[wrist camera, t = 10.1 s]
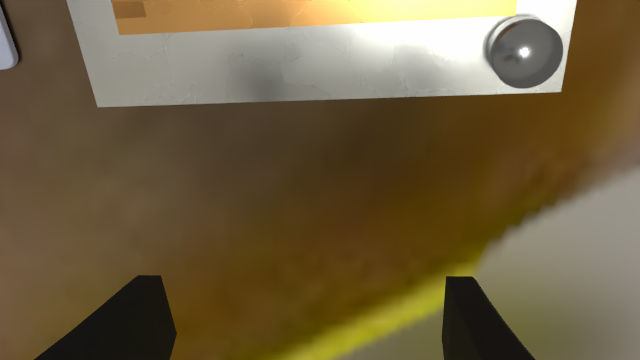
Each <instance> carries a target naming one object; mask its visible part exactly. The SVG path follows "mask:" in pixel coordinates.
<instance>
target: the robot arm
mask: <svg viewBox="0 0 640 360" xmlns="http://www.w3.org/2000/svg"><path fill="white" fill-rule="evenodd" d="M17 62H18V54H17V51H16V48H15V45H14V43H13V40H12V37H11V34H10V31H9V28H8V26H7V23H6V20H5V17H4V14H3V11H2V9H1V6H0V70H1V69H9V68H11V67H13V66H15V65H16V64H17ZM176 335H177V333H176V329H175V326H174V322H173V318H172V315H171V311H170V308H169V304H168V300H167V297H166V293H165V289H164V286H163V282H162V278H161V276H149V275H138V276H137V277H136V278H134V279H133V280H132V281H130V282H129V283H128V284H127V285H126V286H124V287H123V288H122V289H121V290H120V291H118V292H117V293H116V294H115V295H114V296H112V297H111V298H110V299H109V300H108V301H107V302H105V303H104V304H103V305H102V306H101V307H99V308H98V309H97V310H96V311H95V312H93V313H92V314H91V315H90V316H89V317H87V318H86V319H85V320H84V321H83V322H81V323H80V324H79V325H78V326H77V327H75V328H74V329H73V330H72V331H71V332H69V333H68V334H67V335H65V336H64V337H63V338H61V339H60V340H59V341H58V342H56V343H55V344H54V345H52V346H51V347H50V348H49V349H47V350H46V351H45V352H43V353H42V354H41V355H39V356H38V357H37V358H36V359H34V360H169V359H170V356H171V353H172V349H173V346H174V342H175V338H176ZM442 344H443V353H444V360H535V359H534V357H533V356H532V355H531V354H530V353H529V352H528V350H527V349H526V348H525V347H524V346H523V344H522V343H521V342H520V341H519V339H518V338H517V337H516V336H515V334H514V333H513V332H512V331H511V329H510V328H509V327H508V325H507V324H506V323H505V321H504V320H503V319H502V317H501V316H500V315H499V314H498V312H497V311H496V309H495V308H494V306H493V305H492V304H491V302H490V301H489V299H488V298H487V296H486V295H485V293H484V292H483V291H482V289H481V287H480V286H479V285H478V283H477V281H476V280H475V279H474V278H473V277H453V276H446V286H445V300H444V315H443V328H442Z"/></svg>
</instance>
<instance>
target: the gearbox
mask: <svg viewBox="0 0 640 360" xmlns="http://www.w3.org/2000/svg"><path fill="white" fill-rule="evenodd" d="M576 1H577V0H67V4H68V7H69V11H70V14H71V17H72V21H73V24H74V28H75V31H76V35H77V38H78V41H79V45H80V48H81V52H82V55H83V59H84V62H85V65H86V69H87V72H88V76H89V79H90V83H91V86H92V89H93V93H94V96H95V100H96V103H97V107H121V106H151V105H181V104H212V103H242V102H272V101H302V100H332V99H362V98H392V97H423V96H453V95H483V94H513V93H543V92H561V88H562V82H563V77H564V71H565V65H566V59H567V53H568V48H569V42H570V36H571V30H572V24H573V19H574V13H575V7H576Z"/></svg>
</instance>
